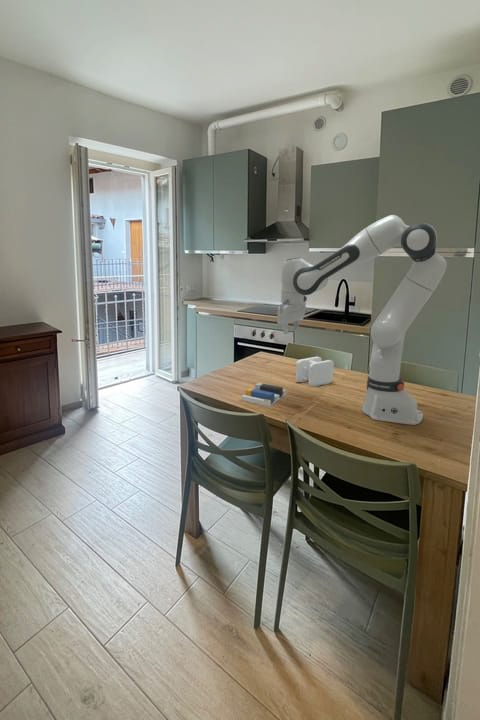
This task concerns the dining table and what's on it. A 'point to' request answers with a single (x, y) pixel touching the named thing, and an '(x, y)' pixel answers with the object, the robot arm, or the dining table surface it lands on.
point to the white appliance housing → (262, 401)
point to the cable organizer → (314, 371)
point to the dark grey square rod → (270, 388)
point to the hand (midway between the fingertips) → (290, 331)
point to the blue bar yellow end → (260, 394)
